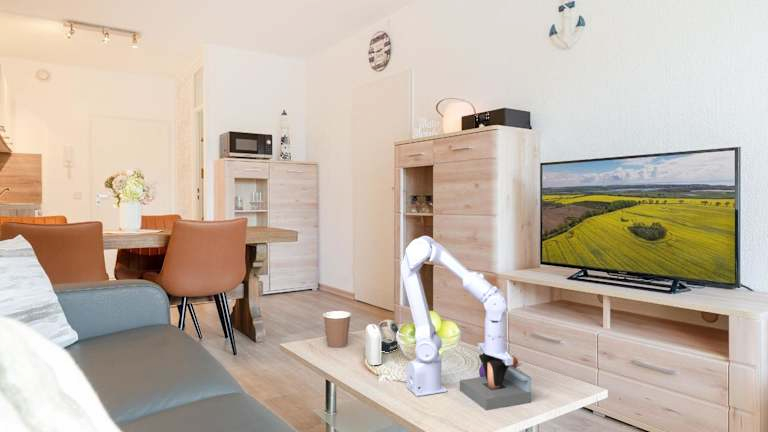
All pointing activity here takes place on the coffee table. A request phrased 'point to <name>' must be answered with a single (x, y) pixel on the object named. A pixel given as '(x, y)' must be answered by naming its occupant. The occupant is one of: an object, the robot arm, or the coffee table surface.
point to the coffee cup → (337, 328)
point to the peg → (490, 378)
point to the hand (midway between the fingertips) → (494, 382)
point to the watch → (386, 343)
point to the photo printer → (373, 344)
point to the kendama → (482, 372)
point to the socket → (499, 390)
